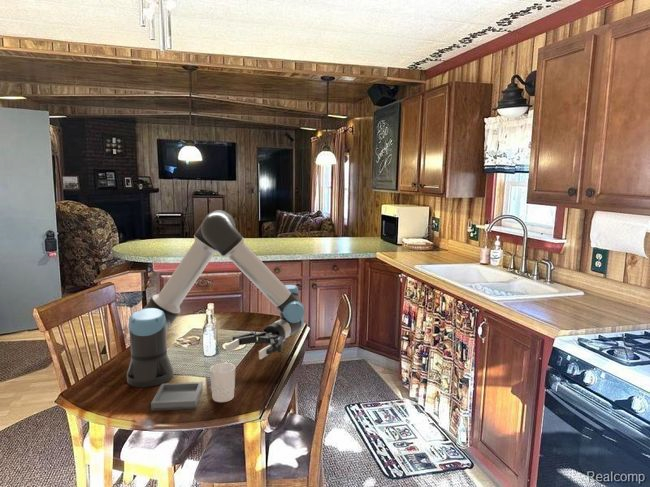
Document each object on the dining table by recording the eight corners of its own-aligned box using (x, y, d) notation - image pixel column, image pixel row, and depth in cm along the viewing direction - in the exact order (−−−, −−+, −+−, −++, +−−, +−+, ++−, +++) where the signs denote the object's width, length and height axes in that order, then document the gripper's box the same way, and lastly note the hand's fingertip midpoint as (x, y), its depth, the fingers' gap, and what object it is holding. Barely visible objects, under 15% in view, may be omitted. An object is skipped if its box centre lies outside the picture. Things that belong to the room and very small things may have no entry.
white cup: (225, 389, 149) (224, 360, 148) (241, 396, 144) (240, 367, 143) (205, 398, 143) (204, 368, 142) (221, 406, 138) (220, 375, 137)
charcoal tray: (162, 390, 148) (161, 383, 148) (202, 389, 150) (202, 381, 149) (151, 410, 135) (150, 403, 135) (195, 408, 137) (195, 401, 136)
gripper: (306, 346, 165) (274, 369, 146) (249, 337, 176) (213, 356, 157) (305, 327, 164) (274, 347, 145) (248, 318, 175) (212, 336, 156)
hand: (242, 352), depth 151 cm, fingers open, 13 cm apart
